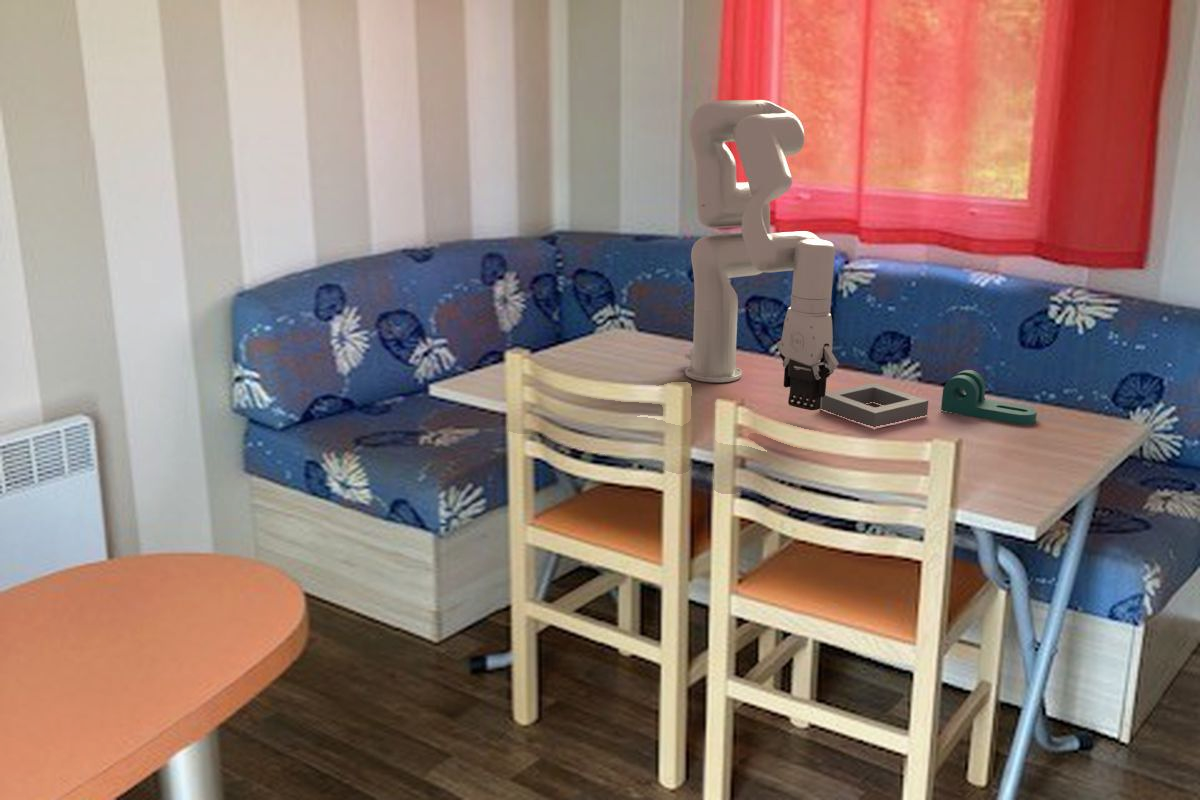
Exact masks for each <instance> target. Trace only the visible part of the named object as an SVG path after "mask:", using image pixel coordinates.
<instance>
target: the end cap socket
mask: <svg viewBox="0 0 1200 800" xmlns="http://www.w3.org/2000/svg"><path fill="white" fill-rule="evenodd" d="M870 402H875V403H878V404H881V405H884V406H877V407H875V406H872V405H870V404H868V405H866V403H870ZM928 408H929V400H928V399H925V398H923V397H922V398H921V397H918V396H916V395H912V394H909V393H906V392H903V391H901V390H897V389H894V388H892V387H889V386H886V385H882V384H879V383H876V382H871V383H865V384H860V385H856V386H851V387H847V388H842V389H838V390H833V391H829V392H825V396H824V397H823V400H822V408H821V409H823V410H826V411H828V412H831V413H834V414H836V415H839V416H842V417H845V418H847V419H850V420H854V421H856V422H860V423H863V424H866V425H870V426H873V427H876V426H880V425H886V424H890V423H895V422H899V421H903V420H907V419H911V418H915V417H916V418H917V417H920V416H925V415H927V416H928V412H929V411H928V410H929V409H928Z"/></svg>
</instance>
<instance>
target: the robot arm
mask: <svg viewBox="0 0 1200 800" xmlns="http://www.w3.org/2000/svg"><path fill="white" fill-rule="evenodd" d="M690 118H691V119H690V123H689V124H690V125H689V138H690V143H691V148H692V150H693V155H694V159H695V168H696V169H695V170H696V172H695V173H696V175H695V176H696V208H697V217H698V220H699V222H700V224H701V225H702V226H703V227H706V228H710V229H722V228H723V229H724V228H738V227H740V228H741V232H736V233H735V232H734V233H719V234H718V233H717V234H710V235H706V236H703V237H700V238H699V239H698V240H696V241H695V242H694V244H693V246H692V248H691V252H690V253H691V254H690V258H691V267H692V272H693V273H692V275H693V283H694V285H693V286H694V299H693V300H694V306H693V307H694V308H693V309H694V310H693V336H692V337H693V339H692V340H693V342H692V349H691V350H690V351H689V352H686V353H685V355H684V358H685V359H687V360H689V361H690V365H689V366H687V367H686V368H685V376H686V377H687V378H689V379H691V380H694V381H699V382H702V383H715V384H716V383H717V384H718V383H731V382H734V381H737V380H739V379H741V378H742V376H743V370H742V369H741V368H740V367H737V366H736V359H737V358H736V355H737V334H738V333H737V331H738V312H739V311H738V310H739V308H738V307H739V299H738V295H737V292H736V290H735V289H734V287H733V285H732V284H731V283H730V279H732V278H740V277H750V276H757V275H760V274H762V273H777V272H792V271H793V272H792V273H793V274H792V285H791V287H792V288H791V294H790V297H789V298H790V299H791V300H790V307H788V308H787V311H786V313H785V317H784V323H783V327H782V329H783V330H782V333H781V334H782V335H781V339H780V340H778V342H777V343H776V347H777V349H778V351H779V356H780V358H781V361H782V366H783V368H784V375H783V387H784V388H790V377H789V376H788V366H789V359H791V360H793V361H796V362H799V363H801V364H804V365H807V366H812V368H813V372H814V375H815V378H814V379H813V380H812V391H811V397H812V398H813V399H816V398H820V397H824V396H825V393H827V391H826V389H827V379H829V378H830V375H832V374H833V373H834V371H835V370H836V369H837V368H838V366H839V365H840V363H839V361H838V360H837V358H836V357H835V355H834V353H833V339H834V337H833V334H834V333H833V318H832V314H831V307H832V306H831V305H832V295H833V293H832V291H833V281H834V280H833V279H834V268H835V267H834V266H835V256H836V254H835V253H836V247H835V246H834V245H835V244H833V243H832V242H831V241H829V240H825V239H821V238H820V237H818V236H817V235H816V234H815V233H813V232H810V231H806V230H805V231H804V230H803V231H802V230H801V231H798V230H797V231H784V232H771V207H770V203H771V202H772V201H774V200H776V199H778V198H779V197H782V196H783V195H785V193H787V191H789V190H790V188H791V187H792V184H793V177H792V175H791V174H792V173H791V171H790V168H789V166H788V163H787V160H786V156H788V157H789V156H794V155H795V156H796V155H797V154H799V153H800V152H801V151H802V149H803V147H804V145H805V139H806V137H805V131H804V127H803V125H802V123H801V121H800V120H799V118H798V117H797V116H796V115H795V114H794V113H792V112H791V111H790V110H787V109H785V108H783V107H781V106H779V105H777V104H775V103H774V102H771V101H768V100H765V99H746V100H745V99H743V100H742V99H741V100H739V99H738V100H732V99H731V100H715V101H714V100H713V101H709V102H705V103H703V104H700V105H699V106H698V107H697V108H695V110H694V112H693V113H692V116H691V117H690ZM732 142H734V143H735V147H736V150H737V153H738V156H739V159H740V162H741V166H742V168H743V171H744V174H745V178H746V181H741V182H740V181H739V182H738V181H737V164H736V162H737V161H736V159H735V157H734V155H733V153H732V151H731V150H730V149H729V147H728V146H727V144H725V143H732ZM820 360H822V362H820ZM819 366H822V371H820V370H819Z"/></svg>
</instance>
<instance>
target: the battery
mask: <svg viewBox="0 0 1200 800" xmlns="http://www.w3.org/2000/svg"><path fill="white" fill-rule="evenodd" d="M820 362H822V360H820ZM819 370H820V371H822V366H819ZM788 376H789V377H790V387H789V395H788V401H787V403H788V405H789V406H791V407H794V408H798V409H802V410H806V411H807V410H808V411H818V410H820V409H821V408H822V400H823V397H820V398H816V399H813V398H812V397H811V391H812V380H813V379H814V378H815V375H814V372H813V368H812V366H807V365H804V364H801V363H799V362H796V361H793V360H791V359H789V366H788Z"/></svg>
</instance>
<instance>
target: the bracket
mask: <svg viewBox="0 0 1200 800" xmlns="http://www.w3.org/2000/svg"><path fill="white" fill-rule="evenodd" d="M944 384H945V385H944V386H943V389H942V395H941V406H940V411H941V410H943V411H947V412H946V413H948V412H952V413H951V414H954V413H957V414H956V415H960V414H961V416H965V415H966V417H971V416H972V418H977V417H978V418H977V419H983V420H990V421H995V422H1000V423H1001V422H1002V423H1006V424H1013V425H1020V426H1021V425H1022V426H1024V425H1026V426H1027V425H1032V424H1035V423H1036V422H1037V414H1038V411H1037V409H1036V408H1034V407H1031V406H1028V405H1023V404H1017V403H1011V402H1006V401H999V400H993V399H987V398H986V397H985V396H986V395H985V394H986V388H987V387H986V382H985V379H984V378H983V376H982V375H981V374H980V373H979V372H977V371H975V370H972V369H965V370H961V371H959V372H958V373H957V374H955V375H954V376H953V377H952V378H950V379H948V381H947V382H946V383H944Z"/></svg>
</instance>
